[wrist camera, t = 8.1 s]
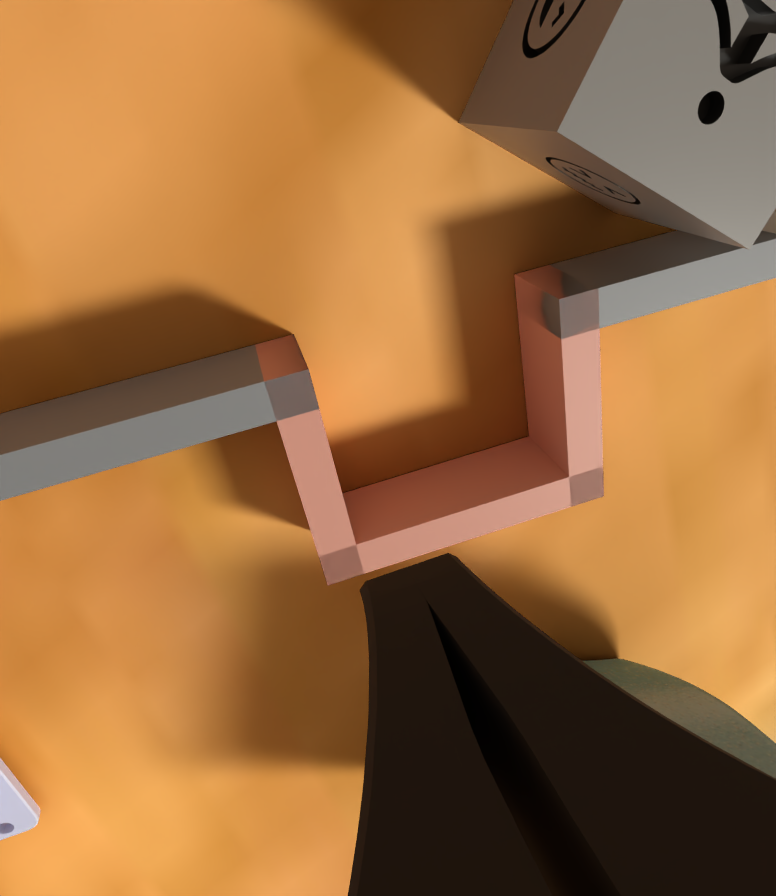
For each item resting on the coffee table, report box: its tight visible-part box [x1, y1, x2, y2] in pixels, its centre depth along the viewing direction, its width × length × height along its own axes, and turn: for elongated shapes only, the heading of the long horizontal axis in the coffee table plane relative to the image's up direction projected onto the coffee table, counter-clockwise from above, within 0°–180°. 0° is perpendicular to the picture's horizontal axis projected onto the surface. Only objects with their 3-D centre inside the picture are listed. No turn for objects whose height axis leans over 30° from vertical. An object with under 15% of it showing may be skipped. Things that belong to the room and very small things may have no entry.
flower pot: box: [583, 659, 776, 778], centre depth 22 cm, size 9×9×9 cm
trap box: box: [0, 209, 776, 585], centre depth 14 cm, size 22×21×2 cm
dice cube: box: [458, 0, 776, 250], centre depth 14 cm, size 5×5×5 cm
